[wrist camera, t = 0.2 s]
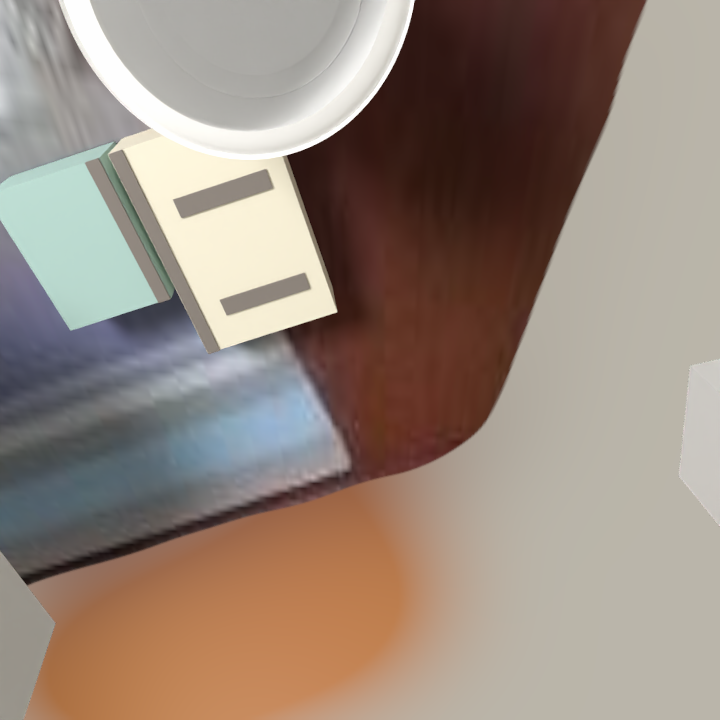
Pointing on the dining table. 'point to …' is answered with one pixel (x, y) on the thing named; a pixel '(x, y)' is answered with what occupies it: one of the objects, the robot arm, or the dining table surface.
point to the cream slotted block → (227, 237)
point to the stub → (84, 238)
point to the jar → (241, 66)
